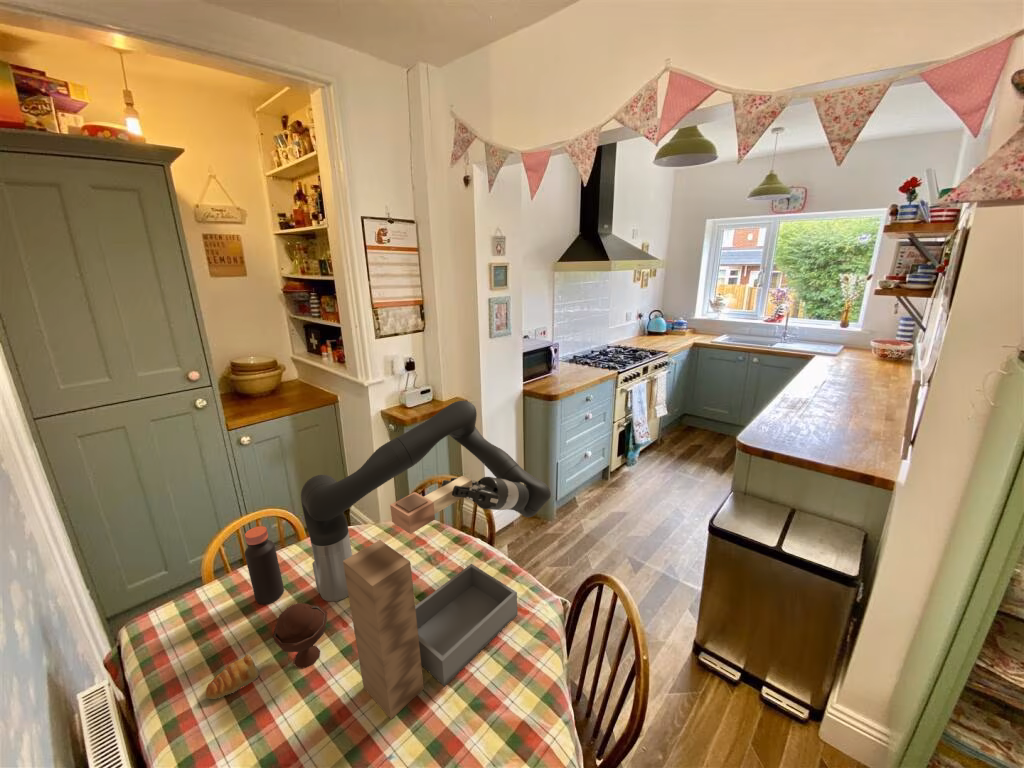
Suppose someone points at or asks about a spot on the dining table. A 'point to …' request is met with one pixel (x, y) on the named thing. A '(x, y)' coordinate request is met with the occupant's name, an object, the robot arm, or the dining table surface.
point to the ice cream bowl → (301, 632)
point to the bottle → (263, 566)
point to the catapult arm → (424, 506)
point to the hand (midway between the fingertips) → (448, 488)
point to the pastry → (233, 678)
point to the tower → (385, 625)
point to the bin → (462, 621)
